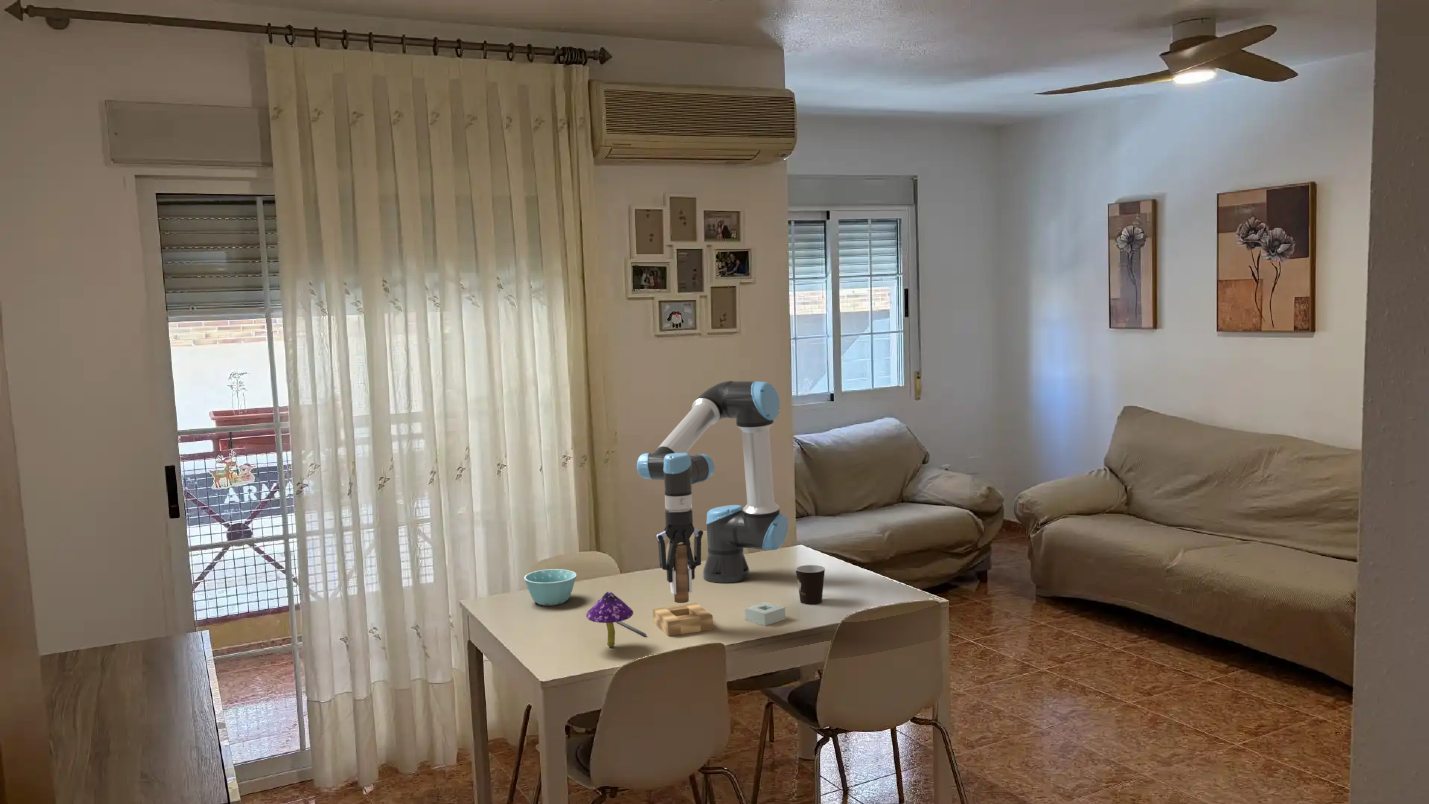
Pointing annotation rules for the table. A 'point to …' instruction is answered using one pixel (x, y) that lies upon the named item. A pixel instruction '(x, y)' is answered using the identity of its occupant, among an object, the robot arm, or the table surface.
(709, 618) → the wooden square socket block
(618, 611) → the decorative mushroom
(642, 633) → the dark grey rod
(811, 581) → the coffee mug
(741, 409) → the robot arm
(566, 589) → the bowl
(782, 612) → the grey square socket block
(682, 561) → the brown wooden bar
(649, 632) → the table surface
